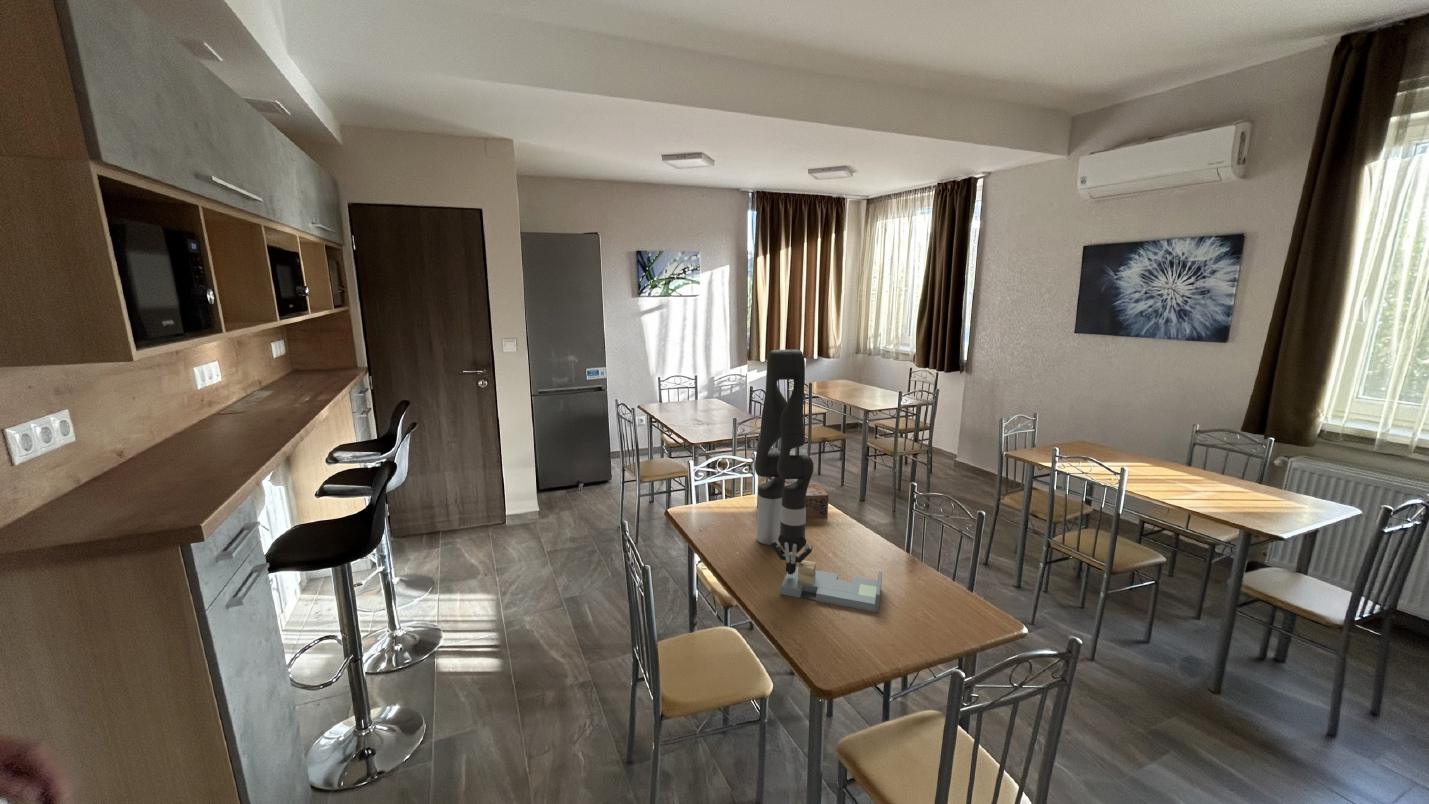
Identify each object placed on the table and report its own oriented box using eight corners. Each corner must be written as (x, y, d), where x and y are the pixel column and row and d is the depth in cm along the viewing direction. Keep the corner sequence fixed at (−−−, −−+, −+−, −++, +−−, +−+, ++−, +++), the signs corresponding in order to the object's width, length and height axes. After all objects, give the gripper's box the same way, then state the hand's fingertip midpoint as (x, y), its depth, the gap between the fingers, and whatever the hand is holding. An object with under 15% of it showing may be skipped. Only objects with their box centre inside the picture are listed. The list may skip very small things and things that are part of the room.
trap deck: (790, 572, 180) (790, 556, 179) (880, 588, 171) (882, 572, 170) (780, 594, 167) (780, 577, 166) (878, 612, 158) (879, 594, 157)
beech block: (800, 574, 174) (801, 559, 173) (815, 577, 172) (816, 562, 171) (797, 581, 170) (798, 566, 169) (812, 584, 168) (813, 568, 167)
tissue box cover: (763, 520, 222) (764, 496, 220) (757, 507, 236) (757, 484, 234) (827, 518, 225) (828, 495, 223) (816, 505, 239) (818, 483, 237)
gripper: (817, 518, 170) (814, 571, 174) (774, 512, 175) (772, 564, 178) (812, 527, 163) (810, 582, 167) (768, 521, 168) (766, 574, 171)
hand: (790, 573), depth 172 cm, fingers closed
